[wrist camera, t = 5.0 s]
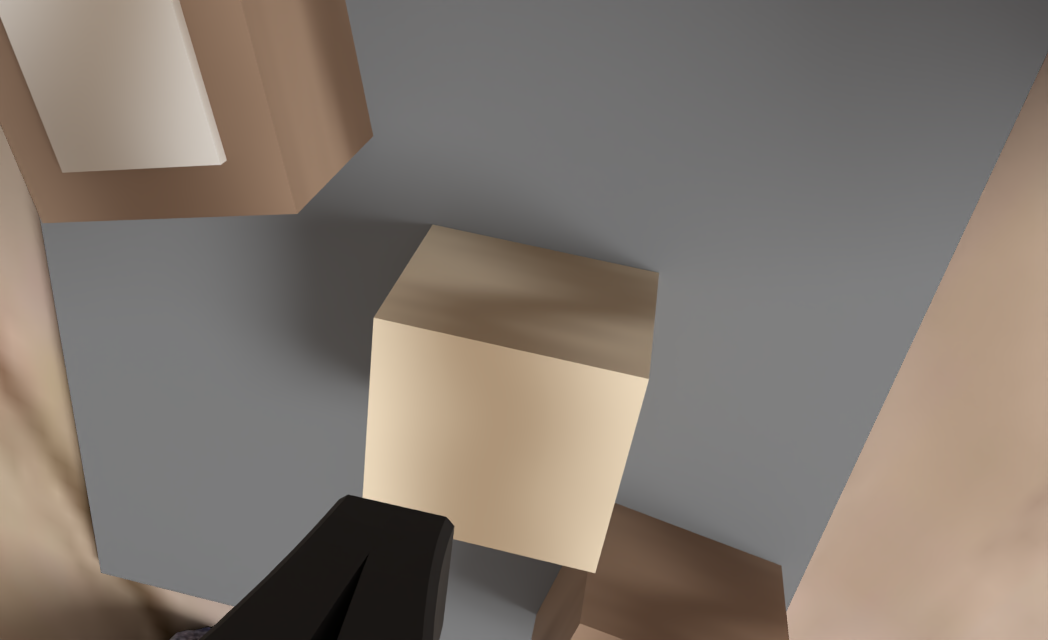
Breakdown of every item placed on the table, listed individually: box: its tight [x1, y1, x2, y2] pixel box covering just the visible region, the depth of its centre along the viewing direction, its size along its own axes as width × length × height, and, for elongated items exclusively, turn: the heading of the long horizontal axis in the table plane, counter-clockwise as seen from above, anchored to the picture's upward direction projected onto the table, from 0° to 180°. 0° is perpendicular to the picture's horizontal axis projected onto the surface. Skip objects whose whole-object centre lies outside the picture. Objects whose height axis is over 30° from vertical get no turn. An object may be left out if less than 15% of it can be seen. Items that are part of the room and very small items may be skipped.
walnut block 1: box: [0, 0, 373, 223], centre depth 16 cm, size 5×5×4 cm
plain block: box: [363, 225, 659, 573], centre depth 18 cm, size 5×5×4 cm
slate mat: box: [40, 0, 1048, 640], centre depth 20 cm, size 20×24×1 cm
